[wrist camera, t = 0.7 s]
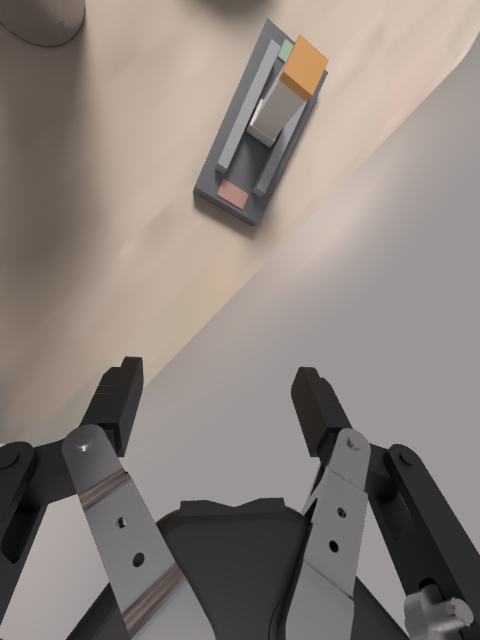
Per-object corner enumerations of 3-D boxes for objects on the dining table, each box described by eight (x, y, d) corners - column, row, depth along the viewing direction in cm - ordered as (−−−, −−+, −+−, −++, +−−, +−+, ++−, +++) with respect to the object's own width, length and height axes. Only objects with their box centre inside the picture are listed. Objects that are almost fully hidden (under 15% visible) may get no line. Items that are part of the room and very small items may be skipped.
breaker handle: (269, 147, 32) (314, 97, 22) (245, 131, 31) (281, 69, 21) (280, 124, 32) (330, 62, 22) (256, 106, 31) (298, 32, 21)
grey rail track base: (252, 226, 36) (263, 221, 32) (193, 191, 34) (196, 181, 29) (317, 85, 34) (337, 60, 30) (260, 36, 32) (274, 1, 27)
